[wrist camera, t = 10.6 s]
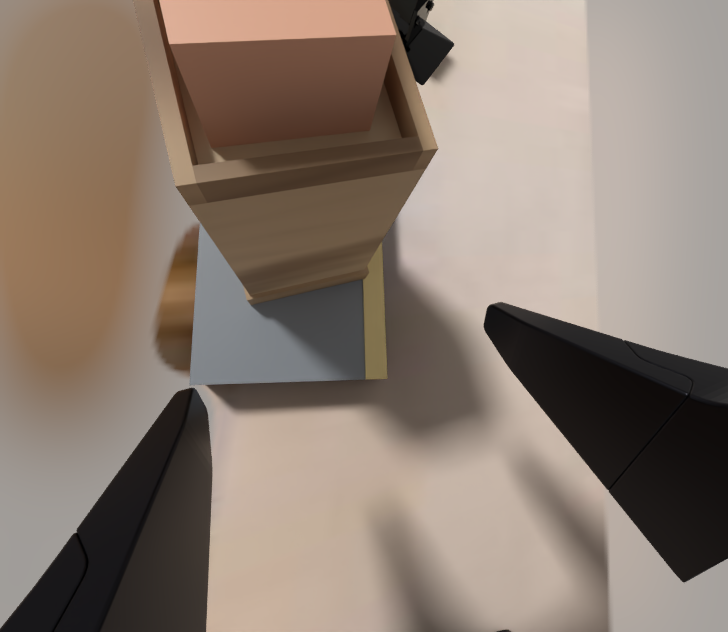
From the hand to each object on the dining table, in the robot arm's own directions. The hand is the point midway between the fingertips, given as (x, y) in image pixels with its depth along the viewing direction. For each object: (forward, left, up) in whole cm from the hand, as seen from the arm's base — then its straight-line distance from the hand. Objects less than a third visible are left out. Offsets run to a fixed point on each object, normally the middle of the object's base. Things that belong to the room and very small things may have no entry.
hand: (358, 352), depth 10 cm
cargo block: (+7, +2, +2) cm, 8 cm away
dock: (+7, +2, -10) cm, 13 cm away
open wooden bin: (+7, +2, -8) cm, 11 cm away
